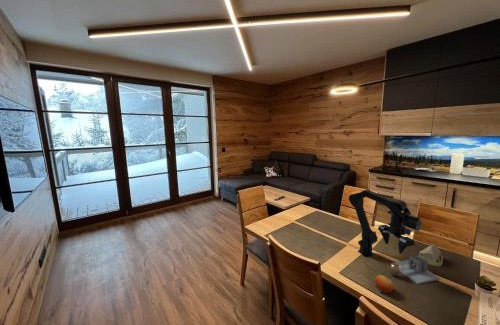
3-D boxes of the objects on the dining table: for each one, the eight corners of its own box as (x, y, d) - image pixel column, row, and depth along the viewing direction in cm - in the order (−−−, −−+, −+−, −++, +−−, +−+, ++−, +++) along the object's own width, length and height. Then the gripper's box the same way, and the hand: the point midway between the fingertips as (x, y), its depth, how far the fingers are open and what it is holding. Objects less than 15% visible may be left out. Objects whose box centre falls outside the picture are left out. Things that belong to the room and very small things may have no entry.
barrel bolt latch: (418, 284, 107) (419, 271, 105) (390, 264, 122) (392, 253, 121) (439, 279, 110) (441, 266, 108) (410, 261, 125) (411, 249, 124)
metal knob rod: (394, 276, 111) (395, 267, 110) (388, 272, 114) (389, 263, 113) (421, 270, 114) (422, 262, 114) (414, 266, 118) (415, 258, 117)
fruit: (367, 282, 107) (376, 269, 106) (379, 288, 108) (387, 276, 107) (378, 294, 99) (387, 281, 98) (391, 301, 100) (400, 287, 99)
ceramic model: (438, 269, 118) (440, 253, 116) (414, 259, 127) (416, 244, 125) (446, 260, 125) (448, 245, 124) (423, 251, 135) (425, 237, 133)
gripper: (425, 229, 108) (421, 256, 110) (394, 214, 126) (391, 238, 128) (407, 231, 106) (403, 259, 108) (378, 216, 124) (376, 240, 127)
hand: (393, 248), depth 118 cm, fingers open, 9 cm apart
